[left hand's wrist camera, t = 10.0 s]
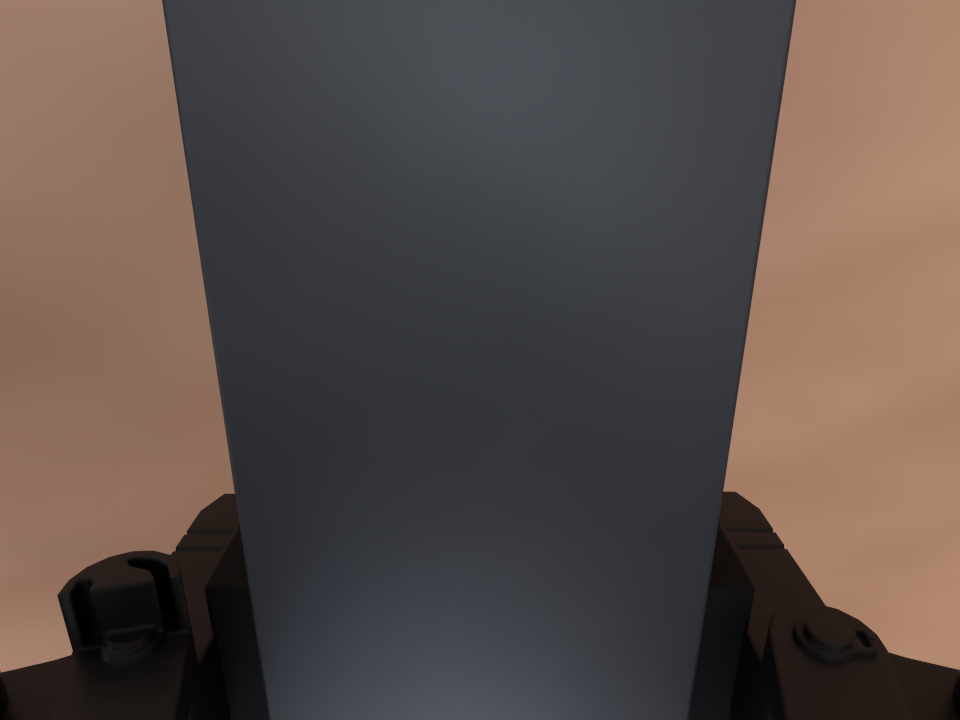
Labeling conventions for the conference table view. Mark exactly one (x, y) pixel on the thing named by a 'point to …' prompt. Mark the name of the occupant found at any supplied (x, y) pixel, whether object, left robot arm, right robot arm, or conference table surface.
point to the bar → (478, 335)
